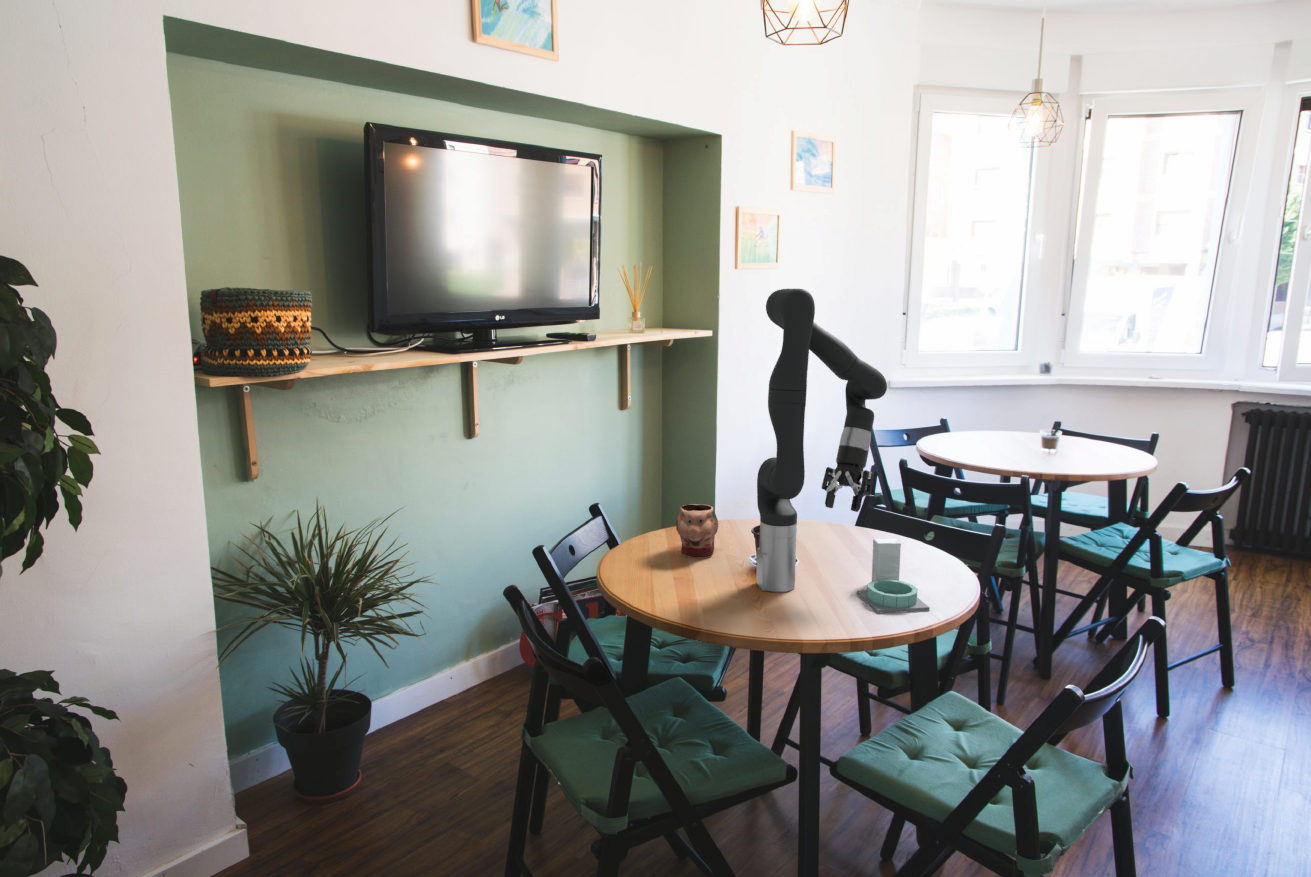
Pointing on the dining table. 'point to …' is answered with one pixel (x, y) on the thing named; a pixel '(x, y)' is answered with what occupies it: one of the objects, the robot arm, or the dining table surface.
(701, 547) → the decorative planter
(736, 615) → the dining table surface
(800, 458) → the robot arm
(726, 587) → the dining table surface
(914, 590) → the collar holder
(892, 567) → the skincare box
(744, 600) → the dining table surface
